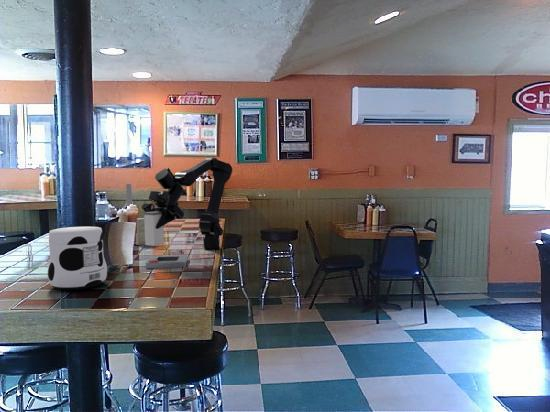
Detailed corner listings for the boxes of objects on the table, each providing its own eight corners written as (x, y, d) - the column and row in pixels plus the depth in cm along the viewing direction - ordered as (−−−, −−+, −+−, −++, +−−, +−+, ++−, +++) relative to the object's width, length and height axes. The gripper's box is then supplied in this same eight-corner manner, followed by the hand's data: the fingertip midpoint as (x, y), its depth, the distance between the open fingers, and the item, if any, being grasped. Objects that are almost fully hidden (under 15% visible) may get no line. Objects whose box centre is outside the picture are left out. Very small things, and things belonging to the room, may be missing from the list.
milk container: (60, 280, 161) (57, 226, 159) (113, 279, 162) (111, 225, 161) (38, 294, 144) (35, 234, 142) (98, 293, 145) (96, 233, 143)
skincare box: (138, 245, 227) (137, 219, 226) (133, 244, 230) (132, 218, 229) (149, 243, 232) (148, 218, 231) (143, 242, 235) (143, 217, 234)
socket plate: (187, 259, 193) (187, 253, 192) (184, 267, 179) (184, 260, 179) (151, 260, 191) (151, 254, 191) (145, 268, 177) (145, 261, 177)
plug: (155, 242, 192) (154, 211, 191) (164, 243, 189) (163, 211, 188) (144, 244, 188) (143, 212, 186) (154, 245, 185) (153, 213, 183)
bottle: (132, 240, 242) (130, 183, 239) (121, 239, 244) (119, 183, 241) (140, 238, 248) (138, 183, 245) (129, 237, 250) (127, 183, 248)
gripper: (144, 183, 194) (122, 213, 186) (177, 183, 184) (156, 215, 176) (159, 201, 202) (139, 230, 194) (192, 203, 191) (173, 234, 183)
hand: (151, 227), depth 186 cm, fingers closed on plug, 5 cm apart
